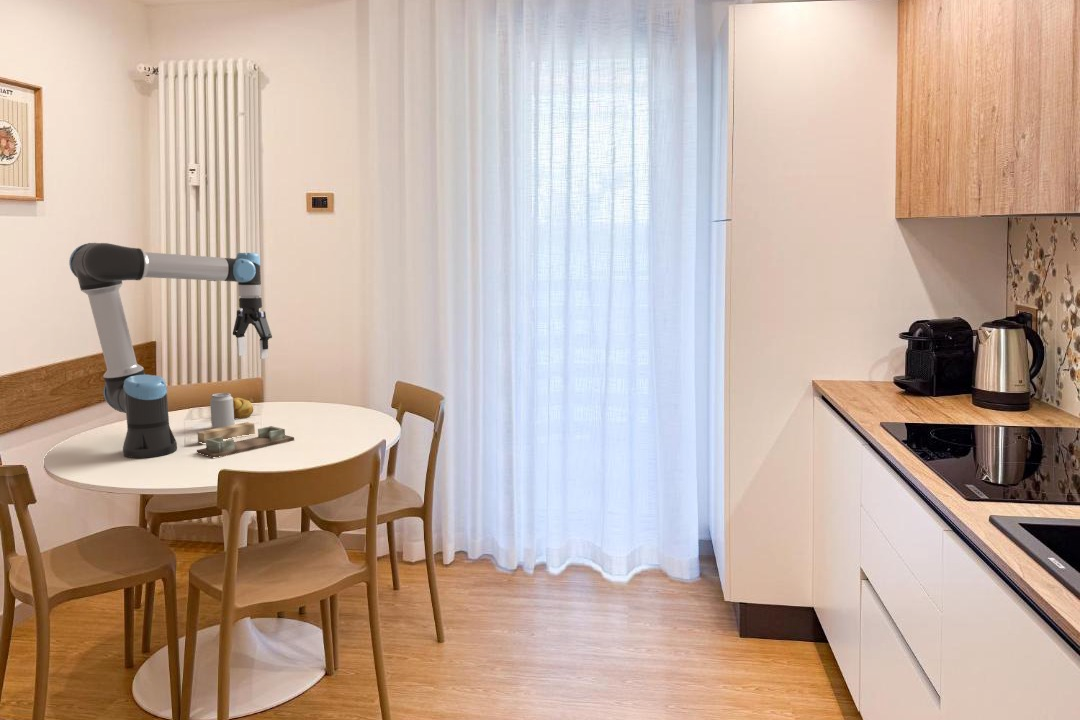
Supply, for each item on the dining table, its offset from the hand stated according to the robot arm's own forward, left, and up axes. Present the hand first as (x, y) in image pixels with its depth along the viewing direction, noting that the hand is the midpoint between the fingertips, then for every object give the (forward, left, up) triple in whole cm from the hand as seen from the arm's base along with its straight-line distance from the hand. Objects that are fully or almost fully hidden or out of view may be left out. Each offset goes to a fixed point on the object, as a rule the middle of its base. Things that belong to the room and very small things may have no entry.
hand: (253, 357), depth 287 cm
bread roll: (+3, +16, -24) cm, 30 cm away
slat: (-19, -13, -24) cm, 33 cm away
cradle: (-21, -28, -24) cm, 42 cm away
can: (-11, +3, -24) cm, 27 cm away
